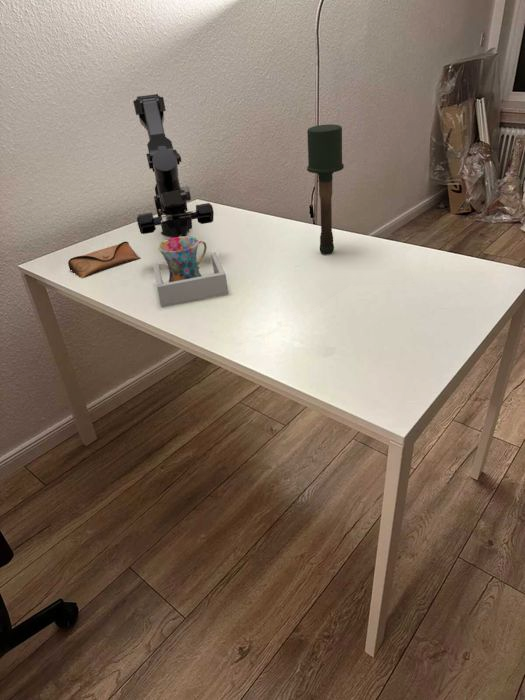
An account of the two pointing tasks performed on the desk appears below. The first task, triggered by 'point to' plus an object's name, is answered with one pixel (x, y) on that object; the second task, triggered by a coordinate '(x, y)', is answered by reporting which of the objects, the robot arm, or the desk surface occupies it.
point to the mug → (181, 257)
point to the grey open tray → (192, 286)
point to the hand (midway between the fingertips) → (182, 249)
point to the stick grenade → (325, 173)
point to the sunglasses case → (102, 260)
